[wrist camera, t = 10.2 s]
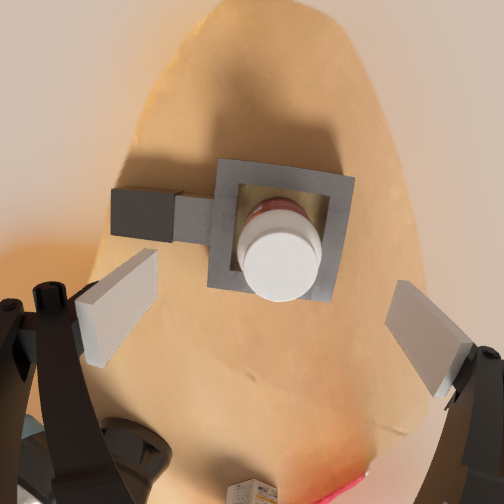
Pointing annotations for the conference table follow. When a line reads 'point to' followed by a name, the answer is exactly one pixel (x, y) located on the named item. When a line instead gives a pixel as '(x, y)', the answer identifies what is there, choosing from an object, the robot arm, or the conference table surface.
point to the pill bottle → (279, 250)
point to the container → (251, 493)
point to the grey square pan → (239, 216)
